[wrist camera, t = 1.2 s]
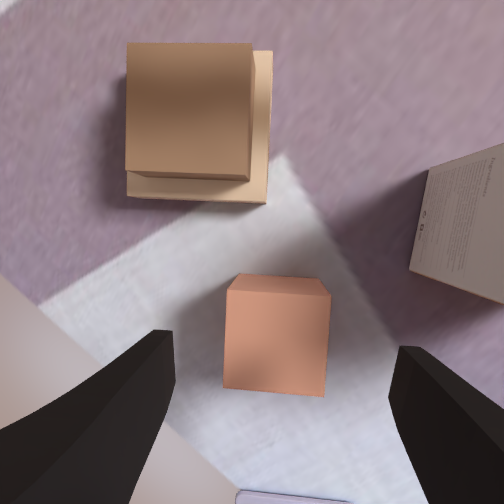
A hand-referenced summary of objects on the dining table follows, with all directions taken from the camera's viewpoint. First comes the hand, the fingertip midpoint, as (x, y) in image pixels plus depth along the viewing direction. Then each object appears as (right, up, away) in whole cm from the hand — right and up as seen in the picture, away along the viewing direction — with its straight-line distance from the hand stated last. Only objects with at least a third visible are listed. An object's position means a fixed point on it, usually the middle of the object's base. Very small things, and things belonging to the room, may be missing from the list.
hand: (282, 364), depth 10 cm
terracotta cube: (+1, 0, +10) cm, 10 cm away
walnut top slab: (-4, +11, +8) cm, 14 cm away
